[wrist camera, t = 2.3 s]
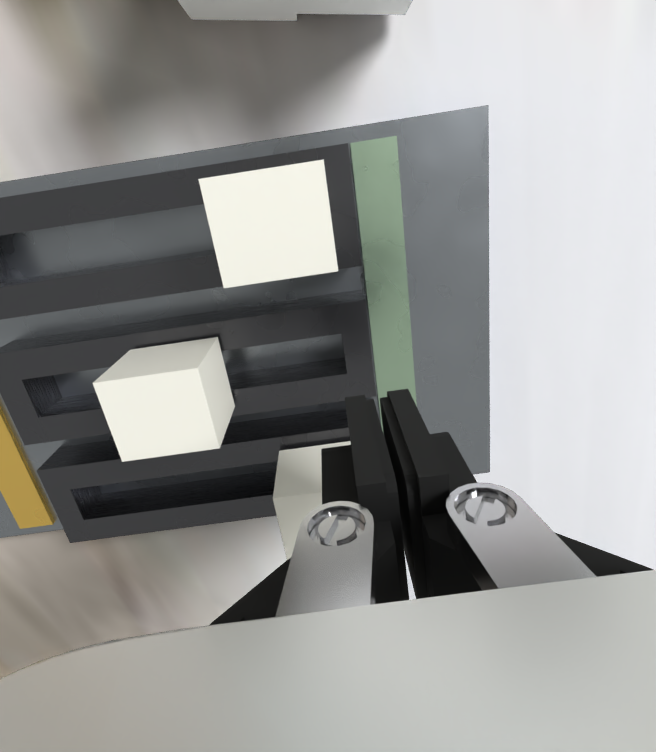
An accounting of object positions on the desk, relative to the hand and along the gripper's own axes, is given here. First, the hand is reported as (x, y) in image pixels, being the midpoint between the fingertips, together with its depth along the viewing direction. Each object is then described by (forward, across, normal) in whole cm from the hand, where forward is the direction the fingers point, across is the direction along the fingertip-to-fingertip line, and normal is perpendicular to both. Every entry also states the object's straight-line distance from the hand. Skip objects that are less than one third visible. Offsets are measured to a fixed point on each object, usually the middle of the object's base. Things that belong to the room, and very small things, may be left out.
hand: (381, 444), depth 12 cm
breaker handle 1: (+7, +2, -6) cm, 9 cm away
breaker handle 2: (+7, +2, +4) cm, 9 cm away
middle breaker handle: (+7, +7, -1) cm, 10 cm away
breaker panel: (+8, +7, -1) cm, 11 cm away
